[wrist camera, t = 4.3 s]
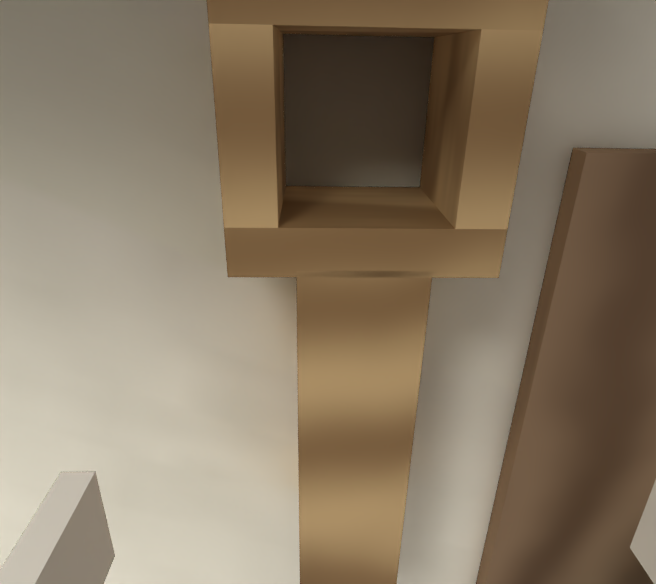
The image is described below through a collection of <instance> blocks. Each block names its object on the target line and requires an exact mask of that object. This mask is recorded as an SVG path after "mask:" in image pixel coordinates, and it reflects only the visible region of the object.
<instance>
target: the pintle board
mask: <svg viewBox="0 0 656 584" xmlns="http://www.w3.org/2000/svg"><path fill="white" fill-rule="evenodd" d="M655 480H656V149H621V148H573V150H572V154H571V159H570V163H569V168H568V172H567V177H566V181H565V186H564V190H563V195H562V199H561V204H560V208H559V213H558V217H557V222H556V226H555V231H554V235H553V240H552V244H551V249H550V253H549V258H548V262H547V267H546V271H545V276H544V280H543V285H542V289H541V294H540V298H539V303H538V307H537V312H536V316H535V321H534V325H533V330H532V334H531V339H530V343H529V348H528V352H527V357H526V361H525V366H524V370H523V375H522V379H521V384H520V388H519V393H518V397H517V402H516V406H515V411H514V415H513V419H512V424H511V428H510V433H509V437H508V442H507V446H506V451H505V455H504V460H503V464H502V469H501V473H500V478H499V482H498V487H497V491H496V496H495V500H494V505H493V509H492V514H491V518H490V523H489V527H488V532H487V536H486V541H485V545H484V550H483V554H482V559H481V563H480V568H479V572H478V577H477V581H476V584H654V583H653V582H652V580H651V579H650V577H649V576H648V574H647V573H646V571H645V570H644V568H643V567H642V565H641V564H640V562H639V561H638V559H637V558H636V556H635V555H634V553H633V552H632V550H631V549H630V545H631V543H632V540H633V537H634V535H635V532H636V530H637V527H638V524H639V522H640V519H641V517H642V514H643V511H644V509H645V506H646V504H647V501H648V498H649V496H650V493H651V490H652V488H653V485H654V483H655Z"/></svg>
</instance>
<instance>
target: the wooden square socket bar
mask: <svg viewBox="0 0 656 584" xmlns="http://www.w3.org/2000/svg"><path fill="white" fill-rule="evenodd" d="M548 1H549V0H207V10H208V24H209V37H210V50H211V63H212V76H213V89H214V102H215V116H216V129H217V142H218V155H219V168H220V181H221V194H222V208H223V221H224V234H225V247H226V260H227V273H228V277H297V360H298V450H299V539H300V584H396V582H397V573H398V565H399V556H400V548H401V539H402V531H403V522H404V514H405V505H406V496H407V488H408V479H409V471H410V462H411V454H412V445H413V436H414V428H415V419H416V411H417V402H418V394H419V385H420V377H421V368H422V359H423V351H424V342H425V334H426V325H427V317H428V308H429V299H430V291H431V282H432V278H499V274H500V268H501V262H502V257H503V251H504V246H505V240H506V235H507V229H508V224H509V218H510V212H511V207H512V201H513V196H514V190H515V185H516V179H517V173H518V168H519V162H520V157H521V151H522V146H523V140H524V135H525V129H526V123H527V118H528V112H529V107H530V101H531V96H532V90H533V85H534V79H535V73H536V68H537V62H538V57H539V51H540V46H541V40H542V34H543V29H544V23H545V18H546V12H547V7H548ZM283 34H301V35H349V36H398V37H434V45H433V56H432V66H431V76H430V86H429V97H428V107H427V117H426V128H425V138H424V148H423V159H422V169H421V179H420V187H330V186H286V164H285V113H284V62H283Z"/></svg>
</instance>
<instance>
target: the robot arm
mask: <svg viewBox="0 0 656 584" xmlns="http://www.w3.org/2000/svg"><path fill="white" fill-rule="evenodd" d="M630 549H631V550H632V552H633V553H634V555H635V556H636V558H637V559H638V561H639V562H640V564H641V565H642V567H643V568H644V570H645V571H646V573H647V574H648V576H649V577H650V579H651V580H652V582H653V583H654V584H656V480H655V483H654V485H653V488H652V490H651V493H650V496H649V498H648V501H647V504H646V506H645V509H644V511H643V514H642V517H641V519H640V522H639V524H638V527H637V530H636V532H635V535H634V537H633V540H632V543H631V545H630ZM114 557H115V554H114V550H113V545H112V541H111V537H110V533H109V528H108V524H107V520H106V515H105V511H104V507H103V502H102V498H101V494H100V490H99V485H98V481H97V477H96V472H95V471H86V472H60V474H59V476H58V477H57V479H56V480H55V482H54V484H53V485H52V487H51V488H50V490H49V492H48V493H47V495H46V496H45V498H44V500H43V501H42V503H41V504H40V506H39V508H38V509H37V511H36V512H35V514H34V516H33V517H32V519H31V521H30V522H29V524H28V525H27V527H26V529H25V530H24V532H23V533H22V535H21V537H20V538H19V540H18V541H17V543H16V545H15V546H14V548H13V549H12V551H11V553H10V554H9V556H8V558H7V559H6V561H5V562H4V564H3V566H2V567H1V569H0V584H104V581H105V579H106V576H107V574H108V571H109V569H110V567H111V564H112V562H113V559H114Z"/></svg>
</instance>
